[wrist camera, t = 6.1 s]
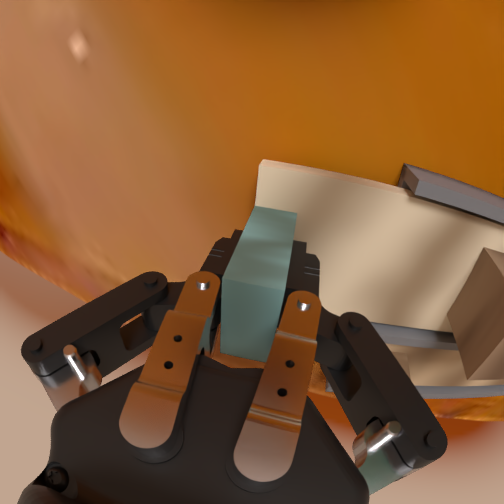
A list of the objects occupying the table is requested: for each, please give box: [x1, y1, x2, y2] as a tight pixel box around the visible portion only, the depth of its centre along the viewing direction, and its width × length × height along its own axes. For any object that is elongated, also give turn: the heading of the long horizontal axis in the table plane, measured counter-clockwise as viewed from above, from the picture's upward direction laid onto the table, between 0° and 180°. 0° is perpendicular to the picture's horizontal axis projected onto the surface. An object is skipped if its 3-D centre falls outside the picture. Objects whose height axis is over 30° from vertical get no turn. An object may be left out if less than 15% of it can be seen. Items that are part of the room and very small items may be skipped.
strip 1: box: [220, 159, 504, 363], centre depth 12 cm, size 20×8×6 cm, turn 85°
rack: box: [326, 163, 504, 399], centre depth 15 cm, size 24×17×2 cm
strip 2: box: [385, 343, 504, 386], centre depth 15 cm, size 20×5×6 cm, turn 85°
